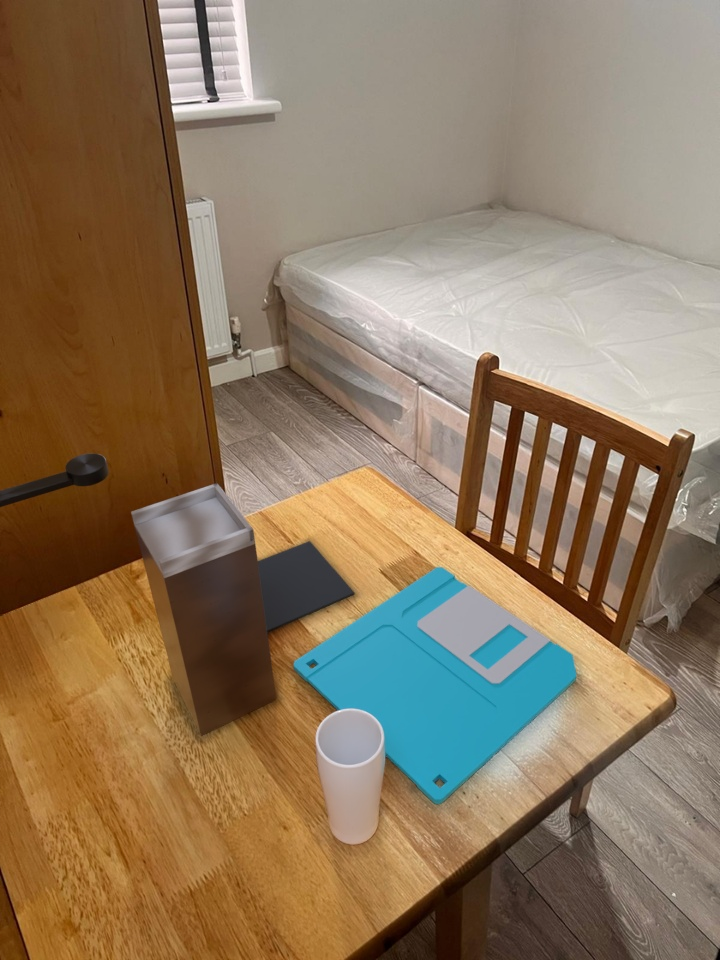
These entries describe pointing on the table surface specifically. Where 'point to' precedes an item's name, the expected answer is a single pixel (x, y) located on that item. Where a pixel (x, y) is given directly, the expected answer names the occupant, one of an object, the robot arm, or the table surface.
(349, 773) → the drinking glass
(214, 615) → the stand
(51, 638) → the table surface
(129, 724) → the table surface
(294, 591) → the mat
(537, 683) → the diskette
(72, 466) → the lever handle
